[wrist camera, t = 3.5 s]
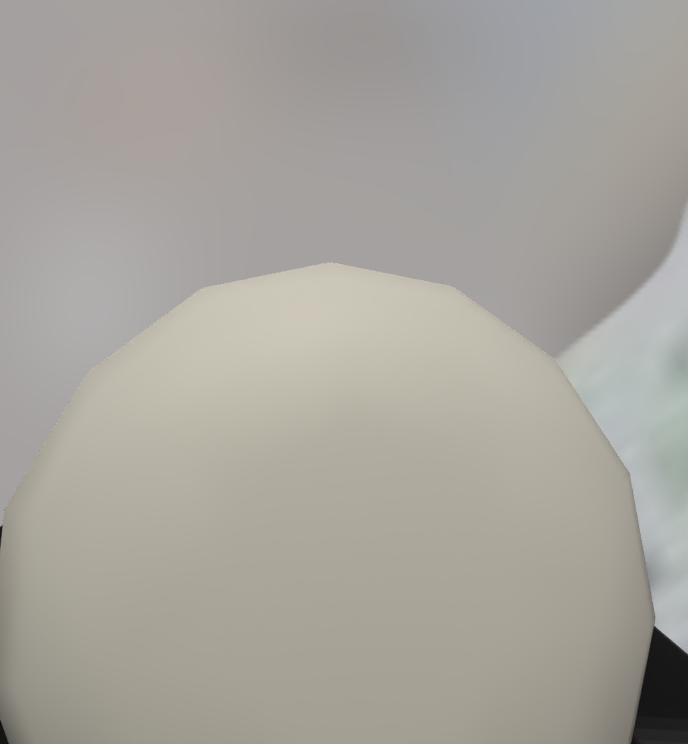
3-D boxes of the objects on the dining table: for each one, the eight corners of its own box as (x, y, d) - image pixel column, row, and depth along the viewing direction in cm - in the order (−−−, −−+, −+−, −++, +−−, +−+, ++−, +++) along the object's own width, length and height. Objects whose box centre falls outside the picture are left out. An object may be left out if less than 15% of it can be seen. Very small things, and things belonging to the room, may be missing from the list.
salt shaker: (234, 617, 14) (-379, 2005, 1) (195, 435, 15) (-339, 198, 2) (413, 557, 15) (1095, 1013, 2) (363, 390, 16) (624, 51, 3)
